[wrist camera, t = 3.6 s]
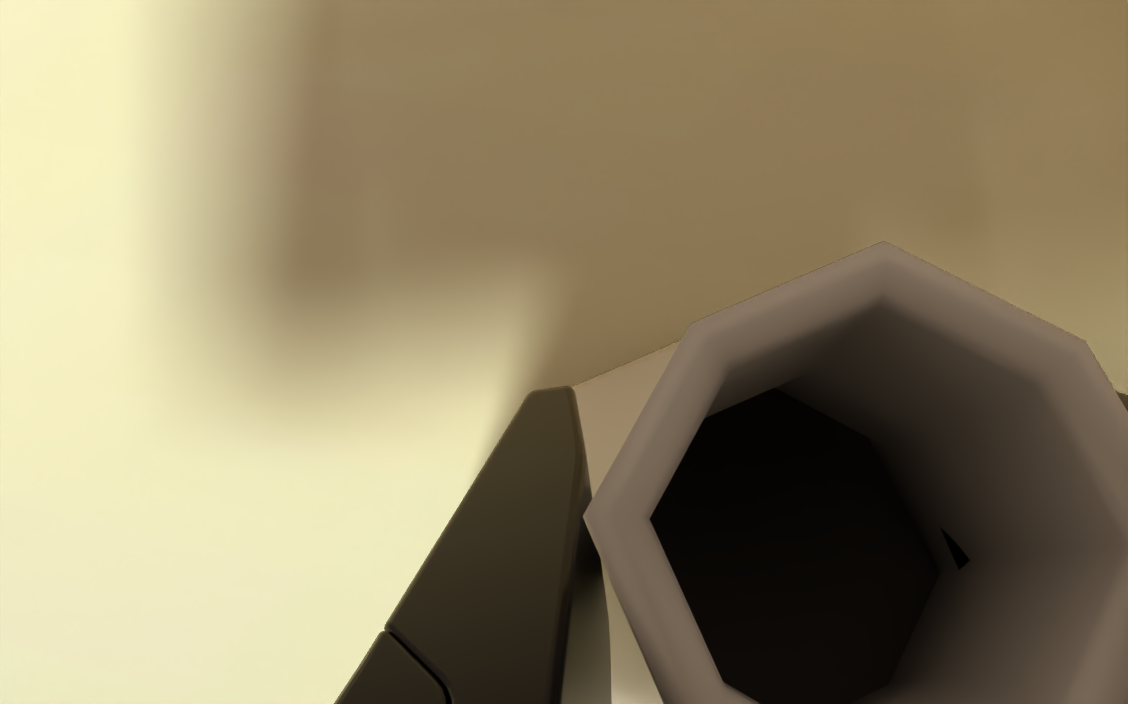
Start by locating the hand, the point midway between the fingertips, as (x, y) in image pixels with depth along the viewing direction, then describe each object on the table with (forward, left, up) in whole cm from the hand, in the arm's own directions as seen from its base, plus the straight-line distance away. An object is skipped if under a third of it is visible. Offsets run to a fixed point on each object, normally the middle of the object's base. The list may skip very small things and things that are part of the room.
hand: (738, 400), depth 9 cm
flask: (-1, 0, -7) cm, 7 cm away
